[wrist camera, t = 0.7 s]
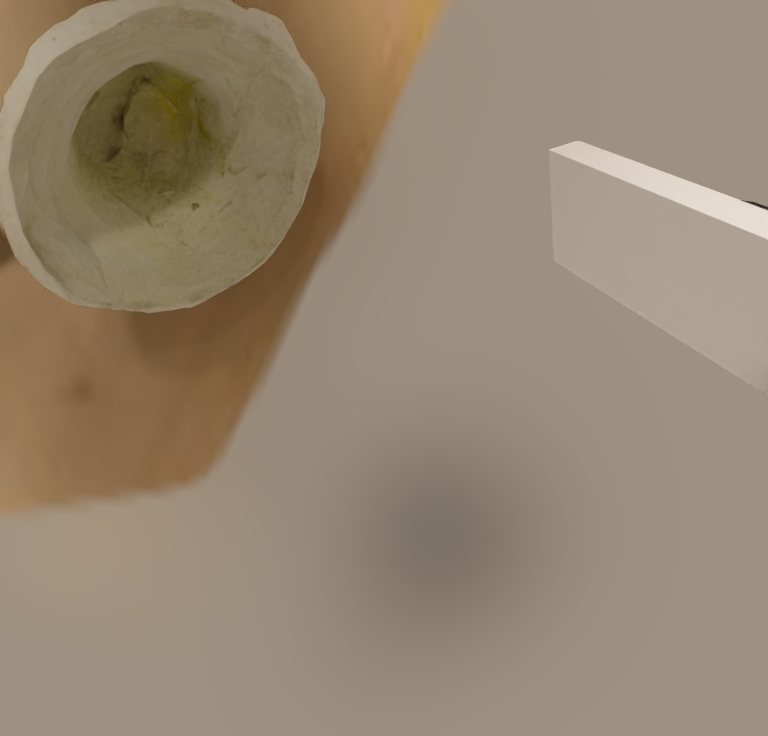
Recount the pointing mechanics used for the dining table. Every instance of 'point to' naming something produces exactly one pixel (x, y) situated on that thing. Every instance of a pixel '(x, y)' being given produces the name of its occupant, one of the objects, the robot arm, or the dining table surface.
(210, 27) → the bowl
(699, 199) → the robot arm
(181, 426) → the dining table surface
